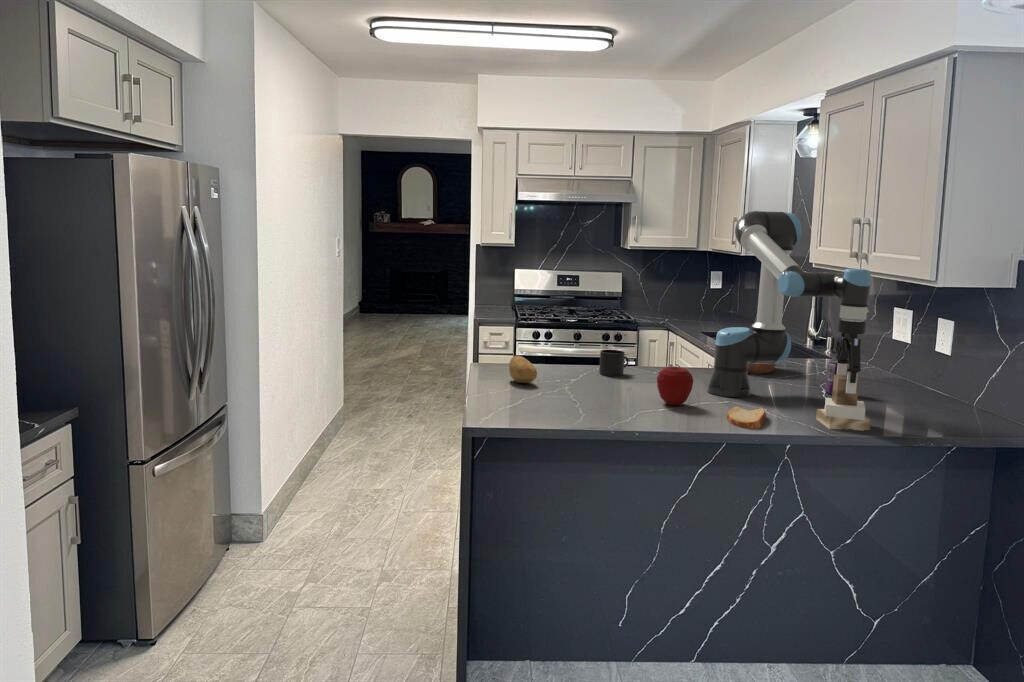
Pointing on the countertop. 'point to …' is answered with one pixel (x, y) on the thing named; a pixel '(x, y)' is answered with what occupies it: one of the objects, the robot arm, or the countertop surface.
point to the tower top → (845, 410)
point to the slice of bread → (746, 417)
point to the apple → (674, 385)
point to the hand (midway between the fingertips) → (845, 388)
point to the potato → (522, 370)
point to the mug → (612, 362)
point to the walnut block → (843, 391)
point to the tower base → (842, 422)
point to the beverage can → (831, 375)
